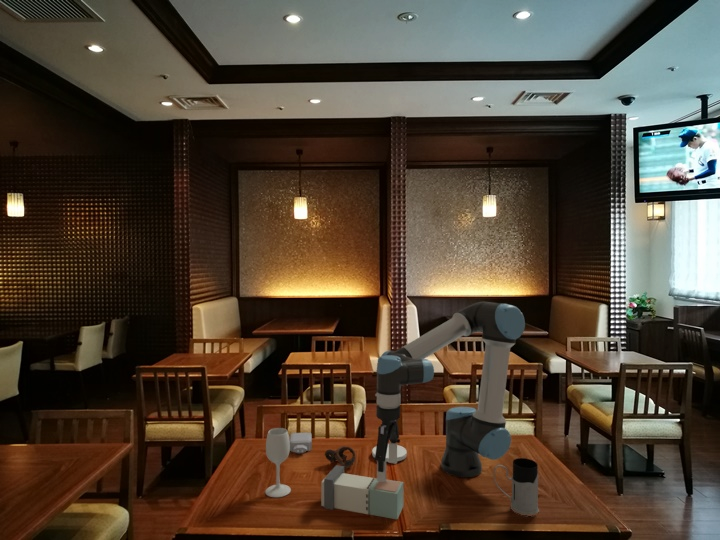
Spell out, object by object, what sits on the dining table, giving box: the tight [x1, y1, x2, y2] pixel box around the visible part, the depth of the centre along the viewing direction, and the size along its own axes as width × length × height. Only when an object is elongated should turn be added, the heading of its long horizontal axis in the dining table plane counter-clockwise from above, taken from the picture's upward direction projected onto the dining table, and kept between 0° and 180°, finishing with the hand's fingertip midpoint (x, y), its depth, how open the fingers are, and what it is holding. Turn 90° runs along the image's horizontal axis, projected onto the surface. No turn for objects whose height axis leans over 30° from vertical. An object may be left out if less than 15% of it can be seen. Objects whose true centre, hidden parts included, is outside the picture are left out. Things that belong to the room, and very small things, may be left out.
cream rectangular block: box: [320, 464, 377, 515], centre depth 155 cm, size 16×10×10 cm, turn 71°
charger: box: [289, 432, 313, 454], centre depth 197 cm, size 5×9×15 cm
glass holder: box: [493, 457, 540, 515], centre depth 152 cm, size 9×14×15 cm, turn 81°
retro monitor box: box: [368, 477, 404, 520], centre depth 150 cm, size 9×8×8 cm
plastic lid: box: [371, 443, 408, 463], centre depth 192 cm, size 14×14×2 cm
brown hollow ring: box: [324, 445, 357, 469], centre depth 183 cm, size 12×10×8 cm
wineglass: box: [264, 427, 292, 498], centre depth 163 cm, size 9×9×21 cm
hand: (387, 471), depth 150 cm, fingers open, 13 cm apart
